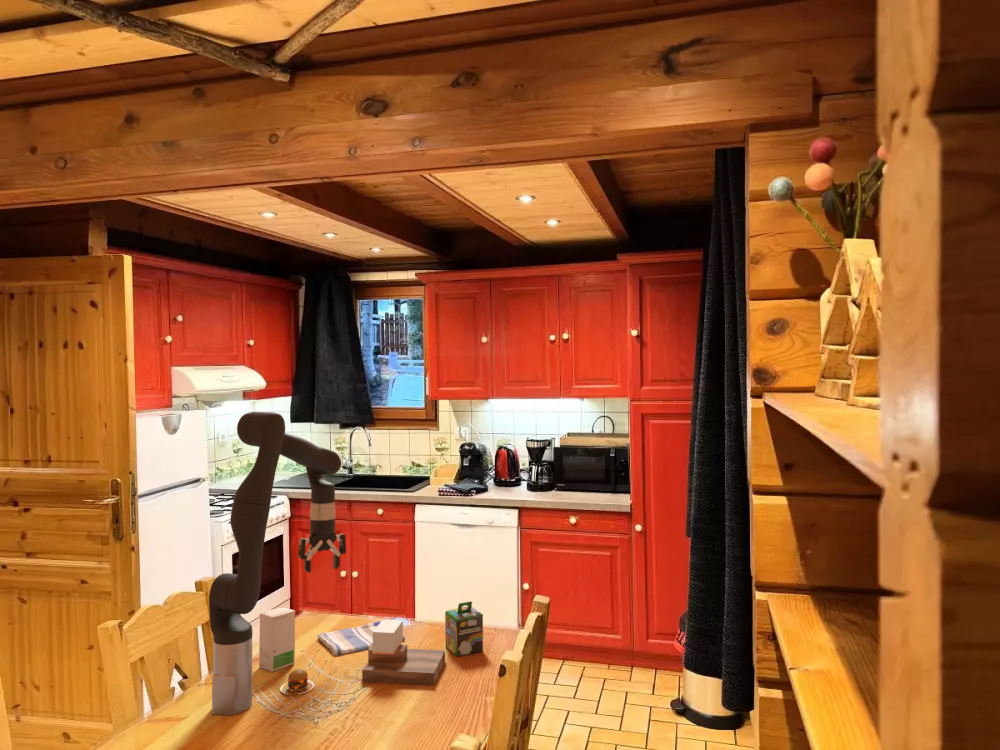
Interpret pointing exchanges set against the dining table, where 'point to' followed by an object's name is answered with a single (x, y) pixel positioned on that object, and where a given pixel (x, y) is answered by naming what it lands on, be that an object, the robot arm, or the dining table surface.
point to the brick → (387, 637)
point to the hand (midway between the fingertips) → (322, 570)
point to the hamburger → (298, 681)
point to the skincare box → (277, 639)
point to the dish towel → (349, 639)
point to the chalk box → (464, 630)
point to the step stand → (404, 666)
